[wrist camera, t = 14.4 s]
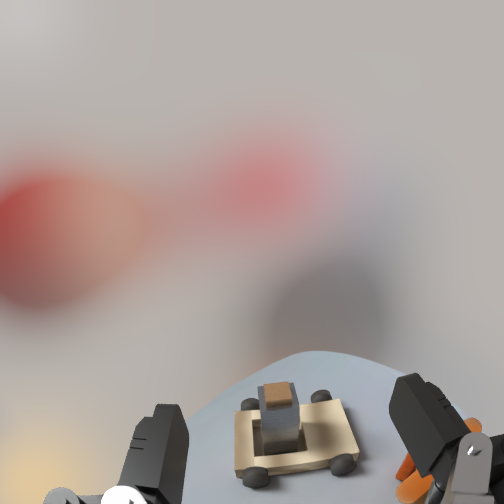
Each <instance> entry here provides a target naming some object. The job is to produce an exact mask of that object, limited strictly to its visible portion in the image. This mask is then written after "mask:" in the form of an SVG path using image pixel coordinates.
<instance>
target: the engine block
mask: <svg viewBox="0 0 504 504" xmlns="http://www.w3.org/2000/svg"><path fill="white" fill-rule="evenodd" d="M258 398H259V408H260V419H261V429H262V438H263V447H264V456H270V455H279V454H287V453H294V452H298V435H299V415H300V406H299V402H298V398H297V395H296V391H295V387H294V383H289V382H280V383H271V384H264V386H259V387H258Z"/></svg>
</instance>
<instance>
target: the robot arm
mask: <svg viewBox="0 0 504 504" xmlns="http://www.w3.org/2000/svg"><path fill="white" fill-rule="evenodd" d="M389 414H390V417H391V420H392V421H393V423H394V425H395V427H396V429H397V431H398V433H399V435H400V437H401V439H402V441H403V442H404V444H405V446H406V448H407V450H408V452H409V454H410V456H411V458H412V460H413V462H414V464H415V466H416V468H417V470H418V472H419V474H420V476H421V478H424V477H426V476H428V475H431V474H432V476H433V478H434V479H433V480H432V482H431V486H430V489H429V492H428V495H427V498H426V501H425V504H504V434H502V435H498V436H494V437H488V436H486V435H485V434H483V433H480V432H471V430H470V429H469V428H468V426H467V425H466V424H465V422H464V421H463V419H462V418H461V417H460V415H459V414H458V413H457V411H456V410H455V409H454V407H453V406H451V403H450V402H449V400H448V399H446V397H445V395H444V394H443V393H442V391H441V390H440V389H439V388H438V387H437V386H435V385H433V384H432V383H430V382H426V383H425V382H424V381H423V379H422V378H421V377H420V375H419V374H417V373H413V374H409V375H406V376H402V377H399V378H398V379H397V380H396V383H395V387H394V390H393V394H392V397H391V400H390V403H389ZM132 438H133V440H131V443H130V449H129V450H128V453H127V456H126V460H125V463H124V466H123V470H122V473H121V477H120V480H119V482H118V484H117V486H116V487H113V488H111V489H110V490H108V491H107V492H106V493H105V494H103V495H95V496H94V495H92V496H77V495H76V494H75V493H74V492H73V491H71V490H70V489H67V488H61V487H59V488H55V489H53V490H51V491H50V492H49V493H48V494H47V495H46V497H45V500H44V503H43V504H181V501H182V493H183V485H184V477H185V469H186V462H187V455H188V447H189V433H188V429H187V426H186V423H185V420H184V418H183V415H182V412H181V409H180V407H179V405H177V404H157V405H156V408H155V411H154V414H153V417H144V418H143V419H142V420H141V421H140V422H139V424H138V425H137V426H136V428H135V431H134V434H133V437H132Z"/></svg>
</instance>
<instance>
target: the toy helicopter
mask: <svg viewBox="0 0 504 504" xmlns="http://www.w3.org/2000/svg"><path fill="white" fill-rule="evenodd" d="M464 422H465V424H466V425H467V426H468V428H469V429H470V430H471V432H480V433H481V430H482V426H481V423H480V422H479V421H478V420H477V419H475V418H468V419H466V420H464ZM414 471H415V472H414ZM413 472H414V473H413ZM412 473H413V474H412ZM396 479H398V480H402V481H403V482H402V483H401V484H400V485H399V486H398V488H397V490H396V498H397V500H398V501H399V502H401V503H404V504H425V501H426V498H427V495H428V492H429V489H430V486H431V482H432V480H433V479H434V478H433V476H432V474H431V475H428V476H426V477H424V478H421V476H420V474H419V472H418V470H417V468H416V466H415V464H414V462H413V460H412V458H411V456H410V454H409V452H408V454H407V456H406V458H405V459H404V461H403V463H402V465H401V467H400V469H399V471H398V473H397V474H396Z"/></svg>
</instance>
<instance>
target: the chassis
mask: <svg viewBox="0 0 504 504" xmlns="http://www.w3.org/2000/svg"><path fill="white" fill-rule="evenodd" d="M311 402H312V403H310V404H303V405H299V406H300V415H299V435H298V452H294V453H287V454H279V455H270V456H264V447H263V438H262V429H261V419H260V408H259V400H258V399H255V398H249V399H245V400H244V401H242V403H241V411H235V473H236V477H237V478H241V477H243V485H244V486H246V487H250V488H260V487H264V486H266V485H268V484H269V476H270V475H280V474H288V473H296V472H303V471H309V470H315V469H320V468H326V467H330V469H331V473H332V475H334V476H341V475H345V474H348V473H350V472H351V471H353V470H354V469H355V468H356V464H355V461H357V458H358V455H359V452H360V451H359V449H358V446H357V443H356V441H355V438H354V436H353V433H352V430H351V428H350V425H349V423H348V420H347V418H346V415H345V412H344V410H343V407H342V405H341V402H340V400H339V399H334V400H332V397H331V395H330V392H329V391H327V390H319V391H316V392H315V393H313V394H312V396H311Z"/></svg>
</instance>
